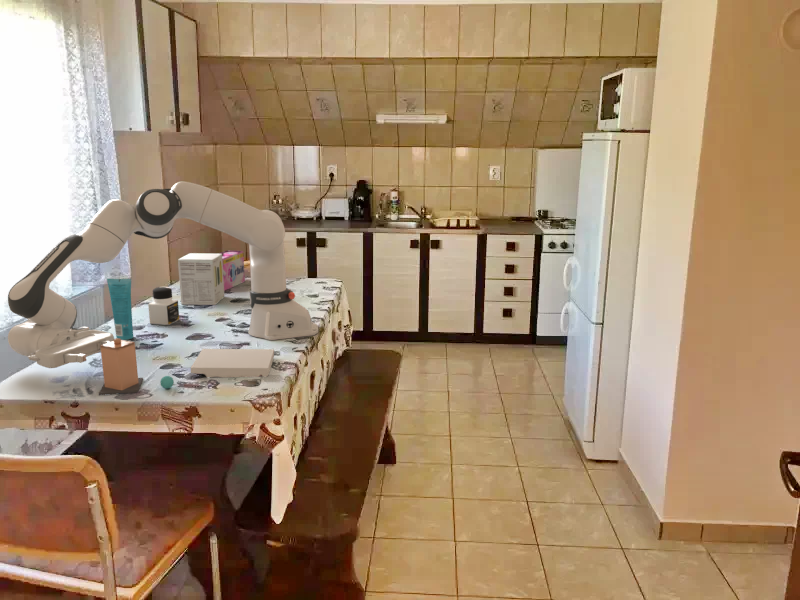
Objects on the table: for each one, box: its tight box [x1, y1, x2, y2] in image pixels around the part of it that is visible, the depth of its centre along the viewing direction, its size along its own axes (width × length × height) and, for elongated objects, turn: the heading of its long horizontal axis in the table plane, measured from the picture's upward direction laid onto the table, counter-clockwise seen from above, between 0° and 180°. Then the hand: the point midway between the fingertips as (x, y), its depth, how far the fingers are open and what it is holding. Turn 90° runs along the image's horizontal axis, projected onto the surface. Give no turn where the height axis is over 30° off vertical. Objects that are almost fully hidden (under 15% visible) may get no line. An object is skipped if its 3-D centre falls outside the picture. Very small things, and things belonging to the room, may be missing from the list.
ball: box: [160, 375, 175, 390], centre depth 167 cm, size 3×3×3 cm
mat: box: [98, 377, 144, 396], centre depth 167 cm, size 9×9×1 cm
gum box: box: [217, 249, 246, 292], centre depth 276 cm, size 24×8×14 cm, turn 167°
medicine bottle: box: [147, 286, 180, 326], centre depth 224 cm, size 7×7×12 cm
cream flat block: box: [190, 348, 275, 378], centre depth 182 cm, size 15×3×20 cm
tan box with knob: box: [100, 337, 139, 390], centre depth 166 cm, size 6×6×12 cm
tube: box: [106, 278, 134, 341], centre depth 205 cm, size 7×5×19 cm, turn 96°
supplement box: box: [177, 252, 226, 306], centre depth 252 cm, size 13×13×18 cm
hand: (99, 353), depth 168 cm, fingers open, 8 cm apart
